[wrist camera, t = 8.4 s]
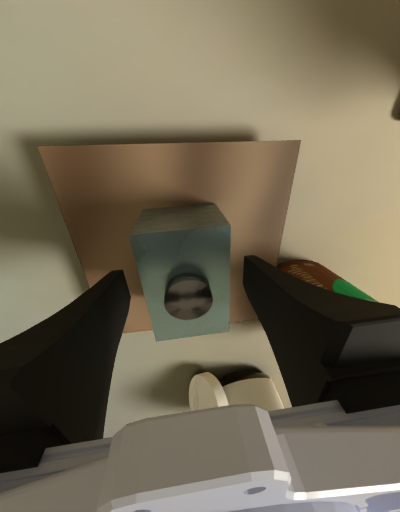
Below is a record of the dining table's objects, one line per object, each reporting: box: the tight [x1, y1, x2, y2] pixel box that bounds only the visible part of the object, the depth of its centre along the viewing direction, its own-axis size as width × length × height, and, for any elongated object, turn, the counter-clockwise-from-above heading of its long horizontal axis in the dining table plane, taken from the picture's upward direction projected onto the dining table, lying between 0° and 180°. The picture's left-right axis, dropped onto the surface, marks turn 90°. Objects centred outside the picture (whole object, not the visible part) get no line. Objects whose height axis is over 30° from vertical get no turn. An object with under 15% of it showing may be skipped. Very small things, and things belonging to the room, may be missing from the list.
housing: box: [129, 203, 231, 341], centre depth 12 cm, size 7×4×5 cm, turn 4°
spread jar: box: [189, 371, 284, 411], centre depth 22 cm, size 12×11×12 cm
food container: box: [276, 260, 378, 302], centre depth 16 cm, size 12×6×10 cm, turn 29°
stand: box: [37, 140, 301, 333], centre depth 15 cm, size 14×14×2 cm
